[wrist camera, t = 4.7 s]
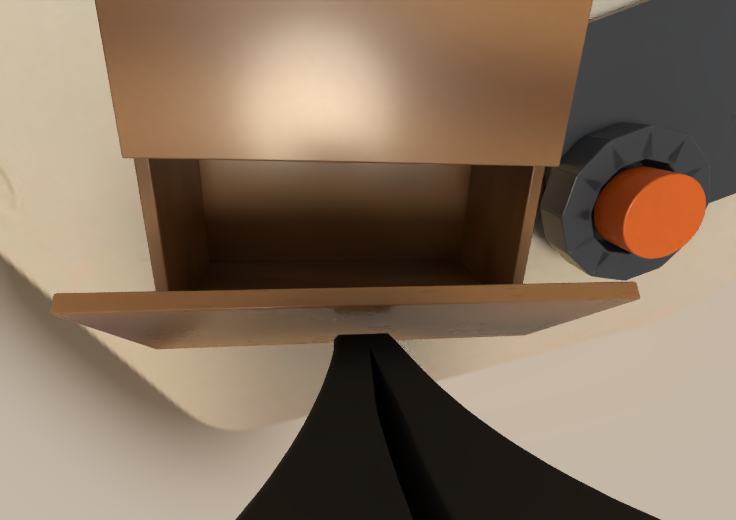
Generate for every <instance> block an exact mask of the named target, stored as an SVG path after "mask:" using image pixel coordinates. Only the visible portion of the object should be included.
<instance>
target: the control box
mask: <svg viewBox="0 0 736 520" xmlns="http://www.w3.org/2000/svg"><path fill="white" fill-rule="evenodd" d="M638 166H646V167H652V168H657V169H661V170H666V171H671V172H676V173H681V174H685V175H688V176H690V177H692V178H694V179H695V180H696V181H697V182H698V183H699V184H700V185H701V187H702V188H703V191H704V193H705V197H706V208H707V206H708V203H711V202H713V201H716V200H719V199H721V198H724V197H727V196H729V195H732V194H735V193H736V0H643V1H640V2H637V3H635V4H632V5H629V6H627V7H624V8H621V9H619V10H616V11H613V12H611V13H608V14H605V15H603V16H600V17H598V18H595V19H592V20H590V21H588V26H587V31H586V36H585V41H584V46H583V51H582V56H581V61H580V65H579V70H578V75H577V80H576V85H575V90H574V95H573V100H572V105H571V110H570V115H569V120H568V125H567V129H566V134H565V139H564V144H563V149H562V154H561V159H560V164H559V166H558V167H549V166H545V170H544V176H545V182H546V189H545V192H544V195H543V198H542V201H541V204H540V211H541V216H542V222H543V227H544V233H545V238H546V240H547V242H548V243H549V244H550V245H551V246H552V247H553V248H554V249H555V250H556V251H557V252H558V253H559V254H560V255H561V256H562V257H563V258H564V259H565V260H567V261H568V262H569V263H571V264H572V265H574V266H576V267H577V268H579V269H580V270H582V271H583V272H585V273H586V274H588V275H590V276H594V277H601V278H609V279H616V280H628V279H631V278H633V277H636V276H639V275H641V274H644V273H647V272H649V271H652V270H655V269H658V268H660V267H661V266H662V265H664V264H665V263H666V262H667V261H668V260H669V259H670V258H671V257H672V256H673V255H674V254H675V253H676V252H678V251H679V250H680V249H681V248H680V249H679V250H677V251H676V252H674V253H672V254H670V255H668V256H665V257H661V258H654V259H648V258H642V257H639V256H637V255H635V254H633V253H631V252H628V251H626V250H624V249H622V248H620V247H618V246H616V245H614V244H612V243H610V242H608V241H606V240H605V239H604V238H602V237H601V235H600V234H599V233H598V231H597V229H596V227H595V223H594V208H595V204H596V201H597V199H598V196H599V194H600V193H601V191H602V190H603V188H604V187H605V185H606V184H607V183H608V182H609V181H610V180H611V179H612V178H613V177H615V176H616V175H618V174H619V173H621V172H623V171H625V170H627V169H630V168H633V167H638ZM705 210H706V209H705Z"/></svg>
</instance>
